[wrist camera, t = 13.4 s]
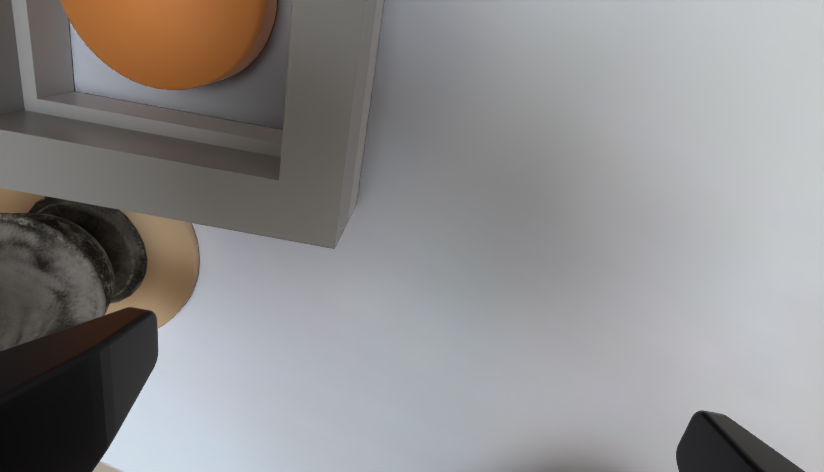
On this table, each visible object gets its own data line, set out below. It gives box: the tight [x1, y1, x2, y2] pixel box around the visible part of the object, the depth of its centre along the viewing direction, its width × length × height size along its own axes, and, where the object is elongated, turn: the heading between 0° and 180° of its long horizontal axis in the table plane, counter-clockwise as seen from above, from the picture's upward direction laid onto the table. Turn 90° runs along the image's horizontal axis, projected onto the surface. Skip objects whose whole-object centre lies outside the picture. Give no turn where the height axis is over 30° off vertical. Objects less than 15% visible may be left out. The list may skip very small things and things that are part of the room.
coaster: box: [0, 188, 199, 328], centre depth 22 cm, size 9×9×1 cm
